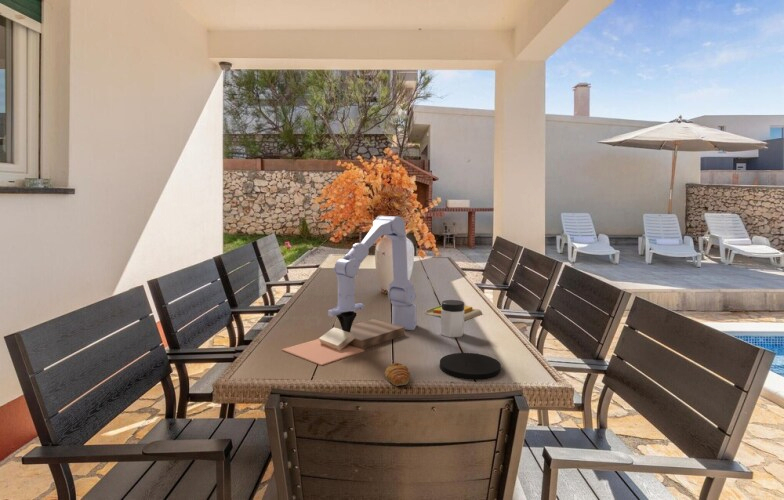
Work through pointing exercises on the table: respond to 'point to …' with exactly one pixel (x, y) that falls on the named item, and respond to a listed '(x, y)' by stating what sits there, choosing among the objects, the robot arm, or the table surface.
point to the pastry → (397, 374)
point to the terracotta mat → (321, 352)
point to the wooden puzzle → (468, 312)
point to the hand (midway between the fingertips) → (346, 333)
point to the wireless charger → (470, 366)
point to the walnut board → (374, 333)
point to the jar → (452, 318)
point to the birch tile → (336, 338)
